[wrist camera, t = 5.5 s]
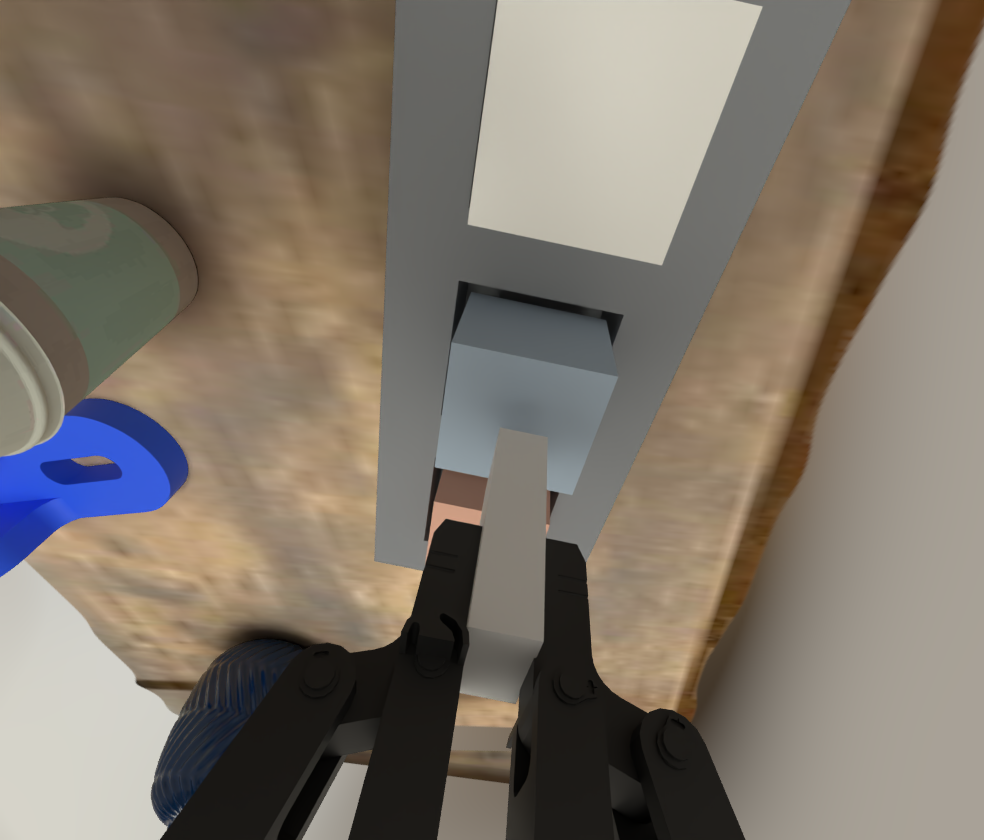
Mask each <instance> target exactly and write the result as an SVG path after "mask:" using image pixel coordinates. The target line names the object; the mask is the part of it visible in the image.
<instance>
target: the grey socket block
mask: <svg viewBox="0 0 984 840" xmlns="http://www.w3.org/2000/svg"><path fill="white" fill-rule="evenodd" d="M735 1H740V2H744V3H749V4H753V5H758V6H762V10H761V13H760V15H759V18H758V20H757V23H756V25H755V28H754V31H753V33H752V36H751V38H750V41H749V43H748V46H747V48H746V51H745V54H744V56H743V59H742V61H741V64H740V66H739V69H738V72H737V74H736V77H735V79H734V82H733V84H732V87H731V89H730V92H729V95H728V97H727V100H726V102H725V105H724V107H723V110H722V113H721V115H720V118H719V120H718V123H717V125H716V128H715V131H714V133H713V136H712V138H711V141H710V143H709V146H708V148H707V151H706V154H705V156H704V159H703V161H702V164H701V166H700V169H699V172H698V174H697V177H696V179H695V182H694V184H693V187H692V189H691V192H690V195H689V197H688V200H687V202H686V205H685V207H684V210H683V213H682V215H681V218H680V220H679V223H678V225H677V228H676V230H675V233H674V236H673V238H672V241H671V243H670V246H669V248H668V251H667V254H666V256H665V259H664V261H663V264H662V265H657V264H652V263H648V262H643V261H638V260H634V259H629V258H624V257H619V256H615V255H610V254H605V253H600V252H596V251H591V250H586V249H581V248H577V247H572V246H567V245H562V244H558V243H553V242H548V241H543V240H539V239H534V238H529V237H524V236H520V235H515V234H510V233H506V232H501V231H496V230H491V229H487V228H482V227H477V226H472V225H468V217H469V210H470V202H471V195H472V187H473V180H474V173H475V165H476V158H477V150H478V143H479V136H480V128H481V121H482V114H483V106H484V99H485V91H486V84H487V77H488V69H489V62H490V54H491V47H492V40H493V32H494V25H495V18H496V10H497V3H498V0H396V14H395V40H394V66H393V92H392V118H391V144H390V170H389V196H388V221H387V247H386V273H385V299H384V325H383V351H382V377H381V403H380V429H379V455H378V481H377V507H376V533H375V559H374V561H376V562H381V563H386V564H391V565H396V566H402V567H407V568H412V569H417V570H422V571H423V570H424V567H425V561H426V554H427V547H428V540H429V533H430V526H431V519H432V512H433V505H434V500H435V496H436V493H437V489H438V486H439V482H440V479H441V475H442V472H443V469H441V468H436V467H435V460H436V453H437V446H438V438H439V431H440V424H441V416H442V409H443V401H444V394H445V387H446V379H447V372H448V365H449V357H450V350H451V342H452V340H453V337H454V335H455V332H456V330H457V327H458V324H459V322H460V319H461V317H462V314H463V312H464V309H465V307H466V304H467V302H468V299H469V296H470V294H471V292H474V293H479V294H484V295H489V296H493V297H498V298H503V299H508V300H513V301H517V302H522V303H527V304H532V305H537V306H541V307H546V308H551V309H556V310H561V311H565V312H570V313H575V314H580V315H584V316H589V317H594V318H599V319H604V320H606V322H607V326H608V331H609V336H610V340H611V345H612V350H613V354H614V359H615V363H616V368H617V373H618V379H617V382H616V384H615V387H614V389H613V392H612V395H611V397H610V400H609V402H608V405H607V407H606V410H605V413H604V415H603V418H602V420H601V423H600V425H599V428H598V430H597V433H596V436H595V438H594V441H593V443H592V446H591V448H590V451H589V454H588V456H587V459H586V461H585V464H584V466H583V469H582V472H581V474H580V477H579V479H578V482H577V484H576V487H575V489H574V492H573V495H569V494H564V493H559V492H554V491H550V526H549V529H548V531H547V534H546V538H548V539H553V540H558V541H563V542H568V543H573V544H577V545H578V547H579V549H580V551H581V553H582V555H583V557H584V559H585V561H586V562H587V559H588V557H589V555H590V553H591V551H592V549H593V547H594V545H595V542H596V540H597V538H598V536H599V534H600V532H601V530H602V528H603V526H604V523H605V521H606V519H607V517H608V515H609V513H610V511H611V509H612V506H613V504H614V502H615V500H616V498H617V496H618V494H619V492H620V490H621V487H622V485H623V483H624V481H625V479H626V477H627V475H628V473H629V470H630V468H631V466H632V464H633V462H634V460H635V458H636V456H637V454H638V451H639V449H640V447H641V445H642V443H643V441H644V439H645V437H646V434H647V432H648V430H649V428H650V426H651V424H652V422H653V420H654V418H655V415H656V413H657V411H658V409H659V407H660V405H661V403H662V401H663V398H664V396H665V394H666V392H667V390H668V388H669V386H670V384H671V381H672V379H673V377H674V375H675V373H676V371H677V369H678V367H679V365H680V362H681V360H682V358H683V356H684V354H685V352H686V350H687V348H688V345H689V343H690V341H691V339H692V337H693V335H694V333H695V331H696V329H697V326H698V324H699V322H700V320H701V318H702V316H703V314H704V312H705V309H706V307H707V305H708V303H709V301H710V299H711V297H712V295H713V293H714V290H715V288H716V286H717V284H718V282H719V280H720V278H721V276H722V273H723V271H724V269H725V267H726V265H727V263H728V261H729V259H730V256H731V254H732V252H733V250H734V248H735V246H736V244H737V242H738V240H739V237H740V235H741V233H742V231H743V229H744V227H745V225H746V223H747V220H748V218H749V216H750V214H751V212H752V210H753V208H754V206H755V204H756V201H757V199H758V197H759V195H760V193H761V191H762V189H763V187H764V184H765V182H766V180H767V178H768V176H769V174H770V172H771V170H772V168H773V165H774V163H775V161H776V159H777V157H778V155H779V153H780V151H781V148H782V146H783V144H784V142H785V140H786V138H787V136H788V134H789V131H790V129H791V127H792V125H793V123H794V121H795V119H796V117H797V115H798V112H799V110H800V108H801V106H802V104H803V102H804V100H805V98H806V95H807V93H808V91H809V89H810V87H811V85H812V83H813V81H814V79H815V76H816V74H817V72H818V70H819V68H820V66H821V64H822V62H823V59H824V57H825V55H826V53H827V51H828V49H829V47H830V45H831V43H832V40H833V38H834V36H835V34H836V32H837V30H838V28H839V26H840V23H841V21H842V19H843V17H844V15H845V13H846V11H847V9H848V7H849V4H850V2H851V0H735Z"/></svg>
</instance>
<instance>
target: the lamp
mask: <svg viewBox="0 0 984 840" xmlns="http://www.w3.org/2000/svg"><path fill="white" fill-rule="evenodd" d="M303 650H305V649H301V646H300V645H293V643H291V642H289V643H287V642H286V641H280V640H277V639H257V640H252V641H248V642H244V643H241V644H239V645H236V646H234V647H232V648H230V649H229V650H227V651H225V652H224V653H223V654H221V655H220V656H219V657H217V658H216V659H215V660H214V661H213V662H212V663H211V665H210V666H209V668H208V669H207V671H206V672H205V673H204V674H203V675H202V676H201V678H200V680H199V681H198V683H197V684H196V685H195V687H194V689H193V691H192V692H191V694H190V696H189V698H188V699H187V701H186V703H185V704H184V706H183V708H182V710H181V712H180V715H179V718H178V720H177V721H176V722H175V724H174V726H173V728H172V730H171V732H170V735H169V736H168V739H167V741H166V744H165V746H164V749H163V751H162V753H161V756H160V759H159V761H158V765H157V768H156V772H155V776H154V783H153V785H152V790H151V800H152V805H153V809H154V811H155V813H156V814H157V816H158V818H159V819H160V820H161V821H162V822H163V823H164V824H165V825H166V826H168V827H167V829H168V828H169V827H170V825H171V824H172V823H173V821H174V820H175V818H176V817H177V816H178V814H179V813H180V812H181V810H182V809H183V808H184V806H185V805H186V803H187V802H188V801H189V799H190V798H191V797H192V795H193V794H194V793H195V791H196V790H197V788H198V787H199V786H200V784H201V783H202V782H203V780H204V779H205V778H206V776H207V775H208V773H209V772H210V771H211V769H212V768H213V767H214V765H215V764H216V763H217V761H218V760H219V759H220V757H221V756H222V754H223V753H224V752H225V750H226V749H227V748H228V746H229V745H230V744H231V742H232V741H233V739H234V738H235V737H236V735H237V734H238V733H239V731H240V730H241V729H242V727H243V726H244V724H245V723H246V722H247V720H248V719H249V718H250V716H251V715H252V714H253V712H254V711H255V709H256V708H257V707H258V705H259V704H260V703H261V701H262V700H263V699H264V697H265V696H266V694H267V693H268V692H269V690H270V689H271V688H272V686H273V685H274V684H275V682H276V681H277V679H278V678H279V677H280V675H281V674H282V673H283V671H284V670H285V669H286V667H287V666H288V664H289V663H290V662H291V661H292V660H293V659H294V658H295V657H296V656H297V655H298V654H299V653H300V652H301V651H303Z"/></svg>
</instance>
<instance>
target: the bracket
mask: <svg viewBox="0 0 984 840" xmlns="http://www.w3.org/2000/svg"><path fill="white" fill-rule="evenodd" d="M88 456H103V457H106V458H108V459H110V460H112V461H113V462H115V463H113V464H105V465H97V466H82V465H80V464H77V463H76V462H74V461H72V460H71V459H72V458H80V457H88ZM187 476H188V464H187V460H186V457H185V455H184V453H183V451H182V449H181V448H180V446H179V445H178V443H177V442H176V441H175V439H174V438H173V437H172V436H171V435H170V434H169V433H168V432H167V431H166V430H165V429H164V428H163V427H162V426H160V425H159V424H158V423H157V422H155V421H154V420H152V419H151V418H149V417H148V416H146V415H145V414H143V413H141V412H139V411H137V410H135V409H133V408H131V407H129V406H126V405H124V404H121V403H118V402H114V401H110V400H105V399H83V400H82V401H81V402H79V403H78V404H77V405H76V406H75V407H74V408H73V409H71V410H70V411H69V412H68V413H67V414H66V415H65V416H64V419H63V422H62V425H61V427H60V429H59V430H58V432H57V433H56V434H55V435H54V436H53V437H52V438H51V439H49V440H48V441H46V442H44V443H42V444H39V445H36V446H34V447H32V448H31V449H29V450H27V451H25V452H22V453H19V454H16V455H11V456H2V457H0V577H1V576H3V575H4V574H5V573H7V572H8V571H10V570H11V569H12V568H14V567H15V566H16V565H18V564H19V563H20V562H21V561H22V560H24V559H25V558H26V557H27V556H28V555H29V554H30V553H31V552H32V551H34V550H35V549H36V548H37V547H38V546H39V545H40V544H41V543H42V542H44V541H45V540H46V539H47V538H48V537H49V536H50V535H51V534H52V533H54V532H55V531H56V530H57V529H59V528H60V527H62V526H63V525H65V524H67V523H69V522H71V521H73V520H76V519H79V518H85V517H96V516H107V515H118V514H129V513H140V512H149V511H153V510H156V509H159V508H160V507H162V506H163V505H164V504H165V503H166V502H167V501H168V500H169V499H170V498H171V497H172V496H173V495H174V494H175V493H176V491H177V490H178V489H179V488H180V487H181V486H182V485H183V484H184V482H185V481H186V479H187Z"/></svg>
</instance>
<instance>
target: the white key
mask: <svg viewBox="0 0 984 840" xmlns="http://www.w3.org/2000/svg"><path fill="white" fill-rule="evenodd" d="M761 10H762V6H758V5H753V4H749V3H744V2H740V1H735V0H498V3H497V10H496V18H495V25H494V32H493V40H492V47H491V54H490V62H489V69H488V77H487V84H486V91H485V99H484V106H483V114H482V121H481V128H480V136H479V143H478V150H477V158H476V165H475V173H474V180H473V187H472V195H471V202H470V210H469V217H468V225H472V226H477V227H482V228H487V229H491V230H496V231H501V232H506V233H510V234H515V235H520V236H524V237H529V238H534V239H539V240H543V241H548V242H553V243H558V244H562V245H567V246H572V247H577V248H581V249H586V250H591V251H596V252H600V253H605V254H610V255H615V256H619V257H624V258H629V259H634V260H638V261H643V262H648V263H652V264H657V265H662V264H663V261H664V259H665V256H666V254H667V251H668V248H669V246H670V243H671V241H672V238H673V236H674V233H675V230H676V228H677V225H678V223H679V220H680V218H681V215H682V213H683V210H684V207H685V205H686V202H687V200H688V197H689V195H690V192H691V189H692V187H693V184H694V182H695V179H696V177H697V174H698V172H699V169H700V166H701V164H702V161H703V159H704V156H705V154H706V151H707V148H708V146H709V143H710V141H711V138H712V136H713V133H714V131H715V128H716V125H717V123H718V120H719V118H720V115H721V113H722V110H723V107H724V105H725V102H726V100H727V97H728V95H729V92H730V89H731V87H732V84H733V82H734V79H735V77H736V74H737V72H738V69H739V66H740V64H741V61H742V59H743V56H744V54H745V51H746V48H747V46H748V43H749V41H750V38H751V36H752V33H753V31H754V28H755V25H756V23H757V20H758V18H759V15H760V13H761Z"/></svg>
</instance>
